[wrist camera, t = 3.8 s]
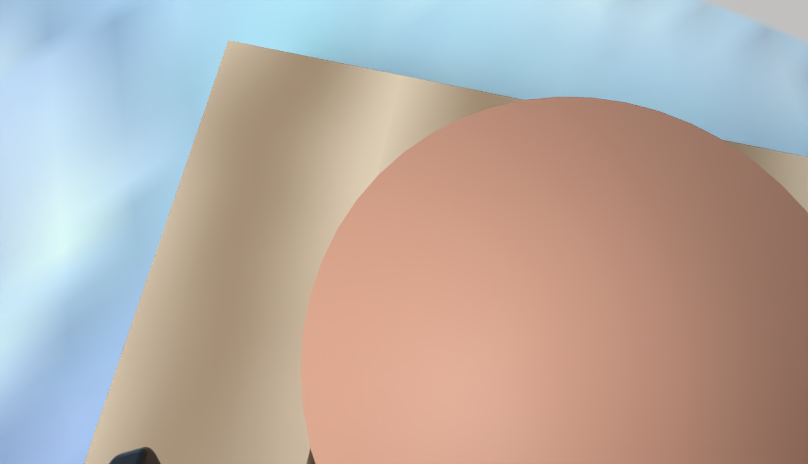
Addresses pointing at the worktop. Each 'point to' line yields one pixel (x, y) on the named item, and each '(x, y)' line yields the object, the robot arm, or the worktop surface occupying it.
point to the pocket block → (270, 250)
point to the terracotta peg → (563, 299)
